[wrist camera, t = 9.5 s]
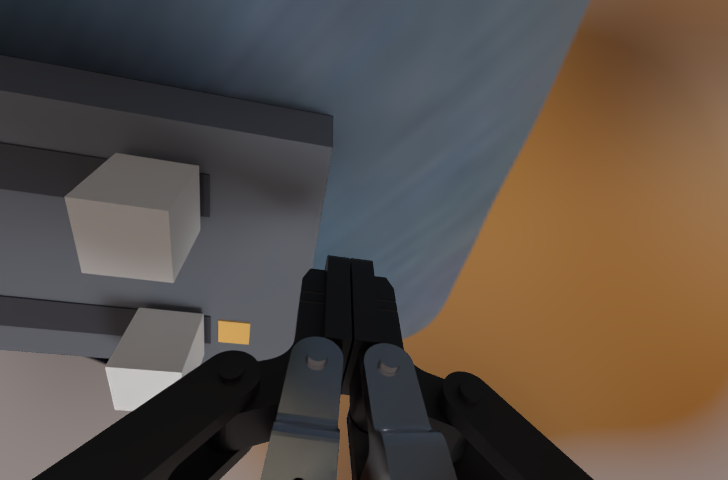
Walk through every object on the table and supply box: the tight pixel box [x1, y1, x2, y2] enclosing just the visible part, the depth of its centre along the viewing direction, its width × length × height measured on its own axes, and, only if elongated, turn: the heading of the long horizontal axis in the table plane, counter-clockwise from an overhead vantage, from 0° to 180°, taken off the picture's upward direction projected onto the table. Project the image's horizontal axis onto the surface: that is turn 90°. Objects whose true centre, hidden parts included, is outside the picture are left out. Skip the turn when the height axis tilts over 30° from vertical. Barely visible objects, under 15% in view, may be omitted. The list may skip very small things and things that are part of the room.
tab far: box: [105, 308, 204, 411], centre depth 19 cm, size 3×3×4 cm
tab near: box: [64, 153, 200, 283], centre depth 15 cm, size 3×3×4 cm
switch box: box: [0, 55, 333, 364], centre depth 20 cm, size 20×14×4 cm
